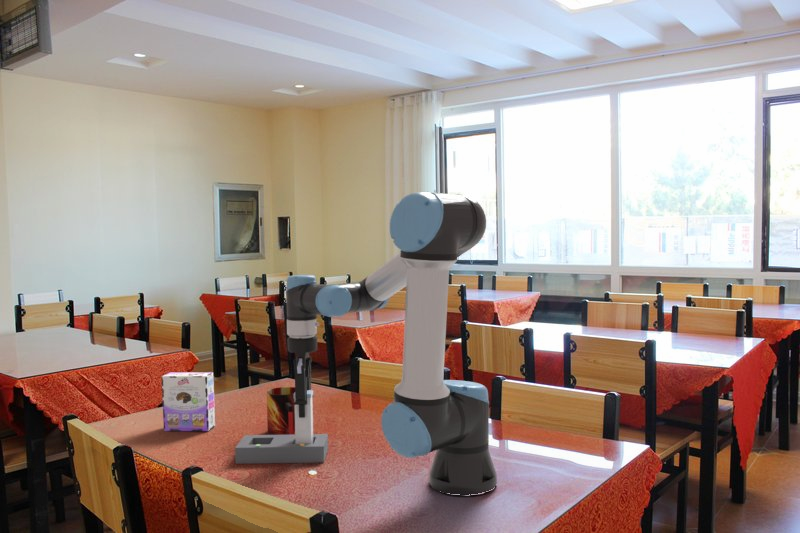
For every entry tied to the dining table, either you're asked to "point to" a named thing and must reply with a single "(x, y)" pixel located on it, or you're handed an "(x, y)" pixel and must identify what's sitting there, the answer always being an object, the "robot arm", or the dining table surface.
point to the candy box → (188, 401)
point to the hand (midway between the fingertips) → (304, 426)
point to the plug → (307, 435)
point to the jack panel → (280, 449)
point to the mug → (281, 411)
